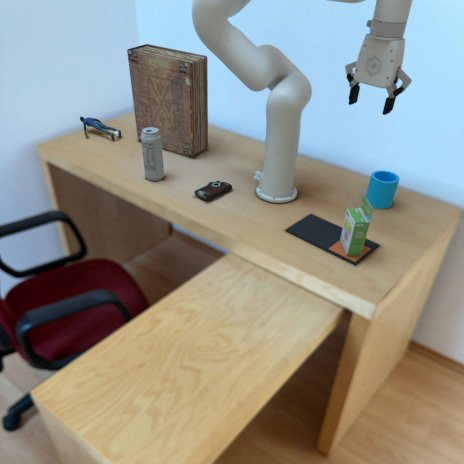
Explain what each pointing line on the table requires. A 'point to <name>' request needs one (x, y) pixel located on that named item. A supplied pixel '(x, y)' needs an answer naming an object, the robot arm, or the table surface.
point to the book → (171, 96)
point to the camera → (213, 190)
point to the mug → (382, 189)
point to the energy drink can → (152, 153)
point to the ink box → (356, 229)
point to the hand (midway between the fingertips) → (369, 108)
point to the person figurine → (99, 126)
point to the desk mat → (327, 237)
